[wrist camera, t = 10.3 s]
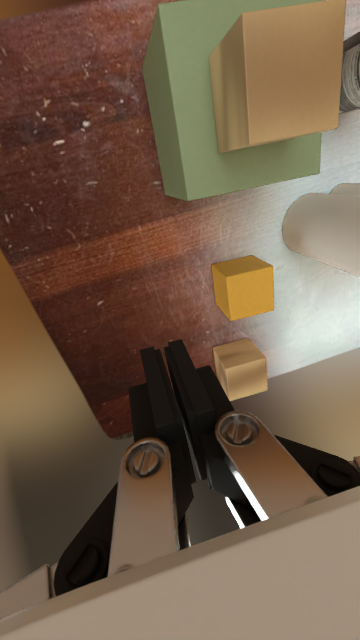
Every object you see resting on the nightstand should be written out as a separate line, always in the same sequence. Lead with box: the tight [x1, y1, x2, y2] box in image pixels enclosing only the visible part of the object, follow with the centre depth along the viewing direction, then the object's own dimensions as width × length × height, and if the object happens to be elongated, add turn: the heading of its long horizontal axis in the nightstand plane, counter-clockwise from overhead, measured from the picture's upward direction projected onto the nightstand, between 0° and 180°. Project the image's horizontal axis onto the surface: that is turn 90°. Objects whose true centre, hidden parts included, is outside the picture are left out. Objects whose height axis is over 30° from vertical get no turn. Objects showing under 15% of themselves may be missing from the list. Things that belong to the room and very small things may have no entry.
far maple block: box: [213, 338, 267, 401], centre depth 37 cm, size 5×5×5 cm
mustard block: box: [211, 255, 274, 321], centre depth 32 cm, size 5×5×5 cm
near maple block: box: [209, 0, 346, 153], centre depth 16 cm, size 5×5×5 cm
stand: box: [142, 0, 326, 201], centre depth 23 cm, size 10×10×10 cm
